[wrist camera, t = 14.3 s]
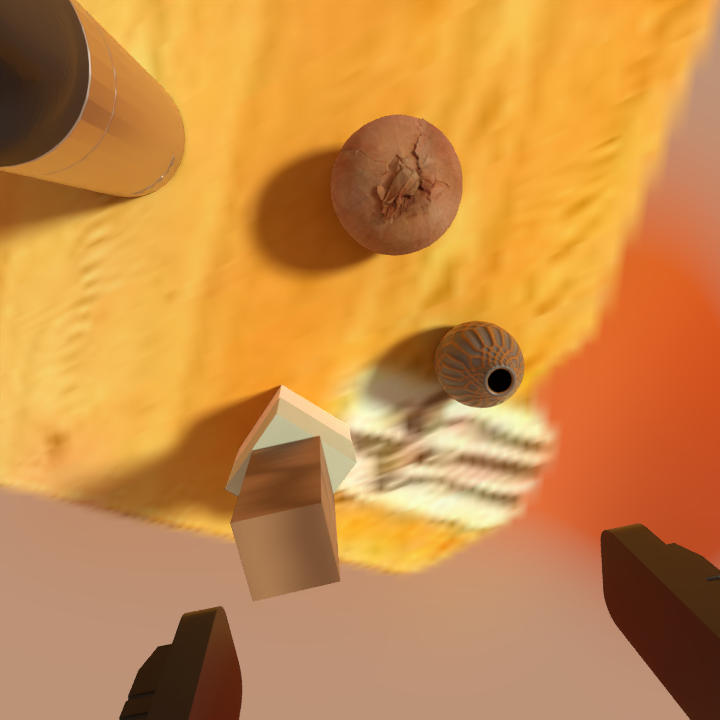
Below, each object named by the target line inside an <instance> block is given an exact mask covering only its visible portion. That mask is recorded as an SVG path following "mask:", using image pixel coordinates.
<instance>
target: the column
mask: <svg viewBox="0 0 720 720" xmlns="http://www.w3.org/2000/svg"><path fill="white" fill-rule="evenodd" d="M230 524H231V527H232V531H233V534H234V538H235V541H236V545H237V548H238V551H239V555H240V558H241V562H242V565H243V569H244V572H245V575H246V579H247V582H248V586H249V589H250V593H251V596H252V599H253V601H256V600H261V599H265V598H270V597H274V596H278V595H282V594H287V593H291V592H296V591H300V590H304V589H309V588H313V587H317V586H322V585H326V584H331V583H335V582H339V581H340V572H339V558H338V544H337V530H336V517H335V503H334V494H333V490H332V485H331V481H330V477H329V473H328V468H327V464H326V460H325V455H324V451H323V447H322V443H321V438H320V436H315V437H311V438H306V439H302V440H297V441H293V442H288V443H284V444H279V445H275V446H270V447H265V448H261V449H256V450H252V454H251V457H250V460H249V464H248V467H247V470H246V473H245V477H244V480H243V483H242V486H241V490H240V493H239V496H238V500H237V503H236V506H235V509H234V513H233V516H232V519H231V522H230Z"/></svg>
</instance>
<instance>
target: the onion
mask: <svg viewBox="0 0 720 720" xmlns="http://www.w3.org/2000/svg"><path fill="white" fill-rule="evenodd" d="M330 190H331V199H332V204H333V207H334V210H335V213H336V215H337V217H338V219H339V221H340V223H341V225H342V226H343V228H344V229H345V230H346V231H347V233H348V234H349V235H350V236H351V237H352V238H353V239H354V240H355V241H357V242H358V243H359V244H360V245H361V246H363V247H365V248H367V249H369V250H371V251H374V252H376V253H380V254H386V255H394V256H395V255H404V254H409V253H412V252H416V251H418V250H421V249H423V248H426V247H428V246H430V245H431V244H432V243H434V242H435V241H437V240H438V239H439V238H440V237H441V236H442V235H443V234H444V233H445V232H446V230H447V229H448V228H449V227H450V225H451V223H452V222H453V220H454V218H455V216H456V214H457V211H458V207H459V204H460V201H461V196H462V172H461V166H460V162H459V159H458V156H457V154H456V152H455V150H454V148H453V146H452V144H451V143H450V141H449V140H448V139H447V138H446V136H445V135H444V134H443V133H442V132H441V131H440V130H439V129H437V128H436V127H435V126H433V125H432V124H430V123H429V122H427V121H426V120H424V119H423V118H422V120H421V119H419V118H415V117H411V116H406V115H390V116H385V117H381V118H379V119H376V120H374V121H371V122H369V123H368V124H366V125H364V126H363V127H361V128H360V129H359V130H357V131H356V132H355V133H354V134H353V135H351V137H350V138H349V139H348V140H347V141H346V142H345V144H344V145H343V147H342V149H341V151H340V153H339V155H338V157H337V159H336V161H335V166H333V169H332V174H331V180H330Z"/></svg>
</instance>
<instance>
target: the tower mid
mask: <svg viewBox="0 0 720 720" xmlns="http://www.w3.org/2000/svg"><path fill="white" fill-rule="evenodd" d="M315 436H320V438H321V443H322V447H323V451H324V455H325V460H326V464H327V468H328V473H329V477H330V481H331V485H332V490H333V494H334V492H335V491H336V490H337V488H338V487H339V486H340V484H341V483H342V481H343V480H344V479H345V477H346V476H347V475H348V473H349V472H350V470H351V469H352V468H353V466H354V465H355V463H356V458H355V453H354V447H353V442H352V441H350V440H349V439H347V438H345V437H344V436H342V435H341V434H339V433H337V432H336V431H334V430H333V429H331V428H329V427H328V426H326V425H324V424H323V423H321V422H320V421H318V420H316V419H315V418H313V417H311V416H310V415H308V414H307V413H305V412H303V411H302V410H300V409H299V408H297V407H295V406H294V405H292V404H290V403H289V402H287V401H286V400H284V399H282V398H281V397H280V398H279V399H278V401H277V402H276V404H275V405H274V407H273V408H272V410H271V411H270V413H269V414H268V416H267V417H266V418H265V420H264V421H263V423H262V424H261V426H260V427H259V429H258V430H257V432H256V433H255V435H254V436H253V437H252V439H251V440H250V442H249V443H248V445H247V446H246V448H245V449H244V451H243V452H242V454H241V455H240V457H239V458H238V459H237V461H236V462H235V464H234V465H233V467H232V470H231V473H230V476H229V479H228V482H227V484H226V487H225V490H227V491H229V492H231V493H232V494H234V495H236V496H239V493H240V490H241V486H242V483H243V480H244V477H245V473H246V470H247V467H248V464H249V460H250V457H251V454H252V450H256V449H261V448H265V447H270V446H275V445H279V444H284V443H288V442H293V441H297V440H302V439H306V438H311V437H315Z"/></svg>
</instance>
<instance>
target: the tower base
mask: <svg viewBox="0 0 720 720" xmlns="http://www.w3.org/2000/svg"><path fill="white" fill-rule="evenodd" d="M280 397H281V398H282V399H284V400H286V401H287V402H289V403H290V404H292V405H294V406H295V407H297V408H299V409H300V410H302V411H303V412H305V413H307V414H308V415H310V416H311V417H313V418H315V419H316V420H318V421H320V422H321V423H323V424H324V425H326V426H328V427H329V428H331V429H333V430H334V431H336V432H337V433H339V434H341V435H342V436H344V437H345V438H347V439H349V440H350V441H351V436H350V431H349V426H348V425H347V424H345V423H344V422H342V421H340V420H339V419H337V418H335V417H334V416H332V415H330V414H329V413H327V412H326V411H324V410H322V409H321V408H319V407H317V406H316V405H314V404H312V403H311V402H309V401H307V400H306V399H304V398H303V397H301V396H299V395H298V394H296V393H294V392H293V391H291V390H289V389H288V388H286V387H284V386H283V385H281V386H280V388H279V389H278V391H277V392H276V394H275V395H274V397H273V398H272V400H271V401H270V403H269V404H268V406H267V408H266V409H265V411H264V412H263V414H262V415H261V417H260V418H259V420H258V421H257V423H256V424H255V426H254V427H253V429H252V430H251V432H250V433H249V435H248V436H247V438H246V439H245V441H244V442H243V444H242V445H241V447H240V448H239V450H238V453H237V456H236V459H235V462H236V461H237V459H238V458H239V457H240V455H241V454H242V452H243V451H244V449H245V448H246V446H247V445H248V443H249V442H250V440H251V439H252V437H253V436H254V435H255V433H256V432H257V430H258V429H259V427H260V426H261V424H262V423H263V421H264V420H265V418H266V417H267V416H268V414H269V413H270V411H271V410H272V408H273V407H274V405H275V404H276V402H277V401H278V399H279V398H280ZM235 462H234V464H235Z"/></svg>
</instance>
